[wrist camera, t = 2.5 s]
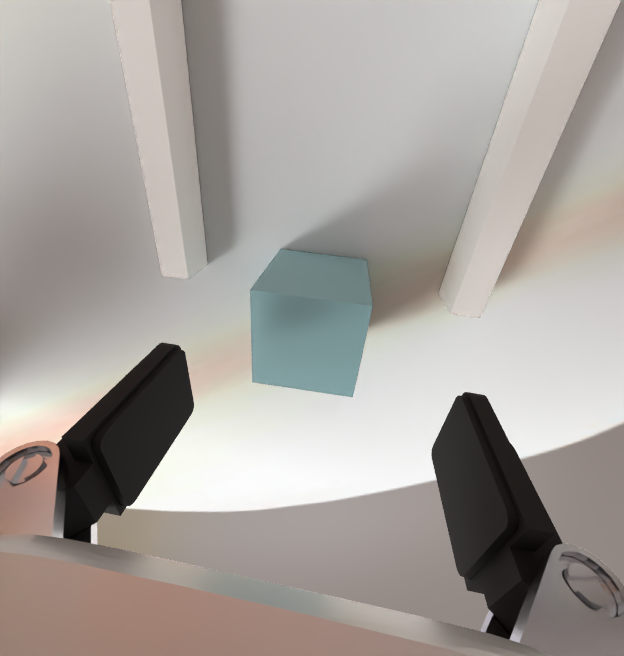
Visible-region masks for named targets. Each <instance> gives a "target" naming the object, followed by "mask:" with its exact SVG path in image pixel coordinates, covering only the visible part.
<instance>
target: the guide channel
mask: <svg viewBox="0 0 624 656" xmlns="http://www.w3.org/2000/svg"><path fill="white" fill-rule="evenodd" d="M620 2H621V0H539V2H538V4H537V7H536V10H535V13H534V16H533V19H532V22H531V25H530V28H529V31H528V34H527V37H526V40H525V42H524V45H523V48H522V51H521V54H520V57H519V60H518V63H517V66H516V69H515V72H514V75H513V78H512V80H511V83H510V86H509V89H508V92H507V95H506V98H505V101H504V104H503V107H502V110H501V113H500V116H499V118H498V121H497V124H496V127H495V130H494V133H493V136H492V139H491V142H490V145H489V148H488V151H487V154H486V156H485V159H484V162H483V165H482V168H481V171H480V174H479V177H478V180H477V183H476V186H475V189H474V191H473V194H472V197H471V200H470V203H469V206H468V209H467V212H466V215H465V218H464V221H463V224H462V227H461V229H460V232H459V235H458V238H457V241H456V244H455V247H454V250H453V253H452V256H451V259H450V262H449V265H448V267H447V270H446V273H445V276H444V279H443V282H442V285H441V288H440V291H439V296H440V297H441V299H442V301H443V302H444V304H445V306H446V307H447V309H448V311H449V312H450V314H455V315H463V316H471V317H478V318H480V317H481V315H482V313H483V310H484V308H485V306H486V304H487V301H488V299H489V297H490V295H491V292H492V290H493V288H494V286H495V283H496V281H497V279H498V277H499V274H500V272H501V270H502V268H503V265H504V263H505V261H506V258H507V256H508V254H509V252H510V249H511V247H512V245H513V243H514V240H515V238H516V236H517V234H518V231H519V229H520V227H521V225H522V222H523V220H524V218H525V216H526V213H527V211H528V209H529V207H530V204H531V202H532V200H533V198H534V195H535V193H536V191H537V189H538V186H539V184H540V182H541V180H542V177H543V175H544V173H545V171H546V168H547V166H548V164H549V162H550V159H551V157H552V155H553V153H554V150H555V148H556V146H557V144H558V141H559V139H560V137H561V135H562V132H563V130H564V128H565V126H566V123H567V121H568V119H569V117H570V114H571V112H572V110H573V108H574V105H575V103H576V101H577V99H578V96H579V94H580V92H581V90H582V87H583V85H584V83H585V80H586V78H587V76H588V74H589V71H590V69H591V67H592V65H593V62H594V60H595V58H596V56H597V53H598V51H599V49H600V47H601V44H602V42H603V40H604V38H605V35H606V33H607V31H608V29H609V26H610V24H611V22H612V20H613V17H614V15H615V13H616V11H617V8H618V6H619V4H620ZM110 5H111V10H112V15H113V21H114V26H115V31H116V36H117V42H118V47H119V52H120V58H121V63H122V68H123V73H124V79H125V84H126V89H127V95H128V100H129V105H130V111H131V116H132V121H133V126H134V132H135V137H136V142H137V148H138V153H139V158H140V163H141V169H142V174H143V179H144V185H145V190H146V195H147V201H148V206H149V211H150V216H151V222H152V227H153V232H154V238H155V243H156V248H157V253H158V259H159V264H160V269H161V275H162V276H166V277H174V278H181V279H190V278H191V277H192V276H193V275H195V274H196V273H197V272H199V271H200V270H201V269H202V268H204V267H205V266H206V265H208V262H207V252H206V242H205V232H204V223H203V213H202V203H201V193H200V183H199V173H198V163H197V153H196V143H195V133H194V123H193V113H192V103H191V93H190V83H189V73H188V63H187V53H186V43H185V33H184V23H183V14H182V4H181V0H110Z"/></svg>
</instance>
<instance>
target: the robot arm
mask: <svg viewBox="0 0 624 656" xmlns="http://www.w3.org/2000/svg"><path fill="white" fill-rule="evenodd" d="M193 409H194V401H193V396H192V390H191V384H190V379H189V373H188V367H187V362H186V356H185V352H184V351H183V350H181V348H180V346H178V345H174V344H168V343H160V344H159V345H158V346H156V347H155V348H154V349H153V350H152V351H151V352H150V353H149V354H148V355H147V356H146V357H145V358H144V359H143V360H142V361H141V362H140V363H139V364H138V365H137V366H136V367H134V368H133V369H132V370H131V371H130V372H129V373H128V374H127V375H126V376H125V377H124V378H123V379H122V380H121V381H120V382H119V383H118V384H117V385H116V386H115V387H114V388H112V389H111V390H110V391H109V392H108V393H107V394H106V395H105V396H104V397H103V398H102V399H101V400H100V401H99V402H98V403H97V404H96V405H95V406H94V407H93V408H91V409H90V410H89V411H88V412H87V413H86V414H85V415H84V416H83V417H82V418H81V419H80V420H79V421H78V422H77V423H76V424H75V425H74V426H73V427H72V428H71V429H69V430H68V431H67V432H66V433H65V434H64V435H63V436H62V439H61V440H60V441H59V442H58V443H57V444H55V443H53V442H50V441H36V442H31V443H27V444H24V445H22V446H19V447H17V448H15V449H13V450H11V451H9V452H8V453H6V454H4V455H3V456H2V457H1V458H0V656H624V586H623V584H622V583H621V581H620V580H619V578H618V577H617V576H616V575H615V574H614V573H613V572H612V571H611V569H610V568H609V567H608V566H607V565H605V564H604V563H603V562H602V561H601V560H600V559H598V558H597V557H596V556H594V555H593V554H591V553H590V552H588V551H586V550H584V549H583V548H580V547H578V546H575V545H573V544H565V543H562V541H561V539H560V537H559V535H558V533H557V531H556V529H555V527H554V525H553V523H552V521H551V519H550V518H549V515H548V513H547V512H546V510H545V508H544V506H543V504H542V502H541V500H540V498H539V496H538V494H537V492H536V490H535V488H534V486H533V484H532V482H531V480H530V478H529V476H528V474H527V472H526V470H525V468H524V466H523V464H522V463H521V460H520V458H519V456H518V454H517V452H516V451H515V449H514V447H513V446H512V444H510V442H509V440H508V438H507V436H506V434H505V432H504V430H503V428H502V426H501V424H500V423H499V421H498V419H497V417H496V415H495V413H494V411H493V409H492V407H491V405H490V403H489V401H488V399H487V397H486V396H485V395H481V394H474V393H468V392H465V393H463V395H462V396H457V397H456V399H455V401H454V403H453V405H452V407H451V410H450V412H449V414H448V416H447V418H446V420H445V422H444V424H443V426H442V428H441V430H440V433H439V435H438V437H437V439H436V441H435V443H434V445H433V448H432V460H433V465H434V469H435V474H436V478H437V483H438V487H439V491H440V496H441V500H442V505H443V509H444V514H445V518H446V523H447V527H448V532H449V535H450V540H451V545H452V549H453V553H454V558H455V563H456V567H457V570H458V573H459V574H460V576H463V577H464V578H465V583H466V587H467V590H468V591H473V592H477V593H482V594H484V595H485V599H486V602H487V606H488V609H489V612H488V614H487V616H486V618H485V621H484V623H483V625H482V627H481V630H480V631H477V630H473V629H469V628H465V627H461V626H457V625H453V624H449V623H444V622H441V621H437V620H432V619H428V618H425V617H420V616H416V615H412V614H407V613H403V612H398V611H394V610H390V609H386V608H381V607H377V606H372V605H368V604H364V603H359V602H355V601H351V600H346V599H341V598H337V597H333V596H329V595H324V594H320V593H316V592H311V591H307V590H302V589H298V588H293V587H289V586H284V585H280V584H276V583H271V582H267V581H262V580H258V579H253V578H249V577H244V576H240V575H235V574H231V573H226V572H221V571H217V570H213V569H208V568H203V567H199V566H195V565H190V564H185V563H181V562H176V561H172V560H167V559H163V558H158V557H154V556H149V555H144V554H140V553H135V552H131V551H126V550H122V549H116V548H111V547H106V546H101V545H97V521H98V520H99V519H100V517H101V516H102V514H103V513H104V512H105V513H109V514H114V515H119V516H121V514H122V513H123V511H124V510H125V508H126V507H127V506H130V505H132V504H133V503H134V502H135V500H136V499H137V497H138V496H139V494H140V493H141V491H142V490H143V488H144V487H145V485H146V484H147V482H148V480H149V479H150V477H151V476H152V474H153V473H154V471H155V470H156V468H157V467H158V465H159V463H160V462H161V460H162V459H163V457H164V456H165V454H166V453H167V451H168V450H169V448H170V446H171V445H172V443H173V442H174V440H175V439H176V437H177V436H178V434H179V433H180V431H181V429H182V428H183V426H184V425H185V423H186V422H187V420H188V419H189V417H190V416H191V414H192V412H193Z"/></svg>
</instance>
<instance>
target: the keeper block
mask: <svg viewBox="0 0 624 656" xmlns="http://www.w3.org/2000/svg"><path fill="white" fill-rule="evenodd" d="M250 298H251V341H252V382H255V383H262V384H268V385H275V386H282V387H288V388H295V389H302V390H308V391H315V392H322V393H328V394H335V395H342V396H349V397H353V394H354V389H355V385H356V380H357V375H358V371H359V366H360V362H361V357H362V353H363V348H364V344H365V339H366V335H367V330H368V326H369V321H370V317H371V312H372V307H373V304H372V296H371V289H370V281H369V273H368V266H367V260H366V259H358V258H350V257H342V256H334V255H326V254H318V253H310V252H302V251H293V250H285V249H280V251H279V252H278V253H277V255H276V256H275V257H274V259H273V260H272V261H271V263H270V264H269V265H268V267H267V268H266V269H265V271H264V272H263V273H262V275H261V276H260V278H259V279H258V280H257V282H256V283H255V284H254V286H253V287H252V288H251V290H250Z"/></svg>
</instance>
